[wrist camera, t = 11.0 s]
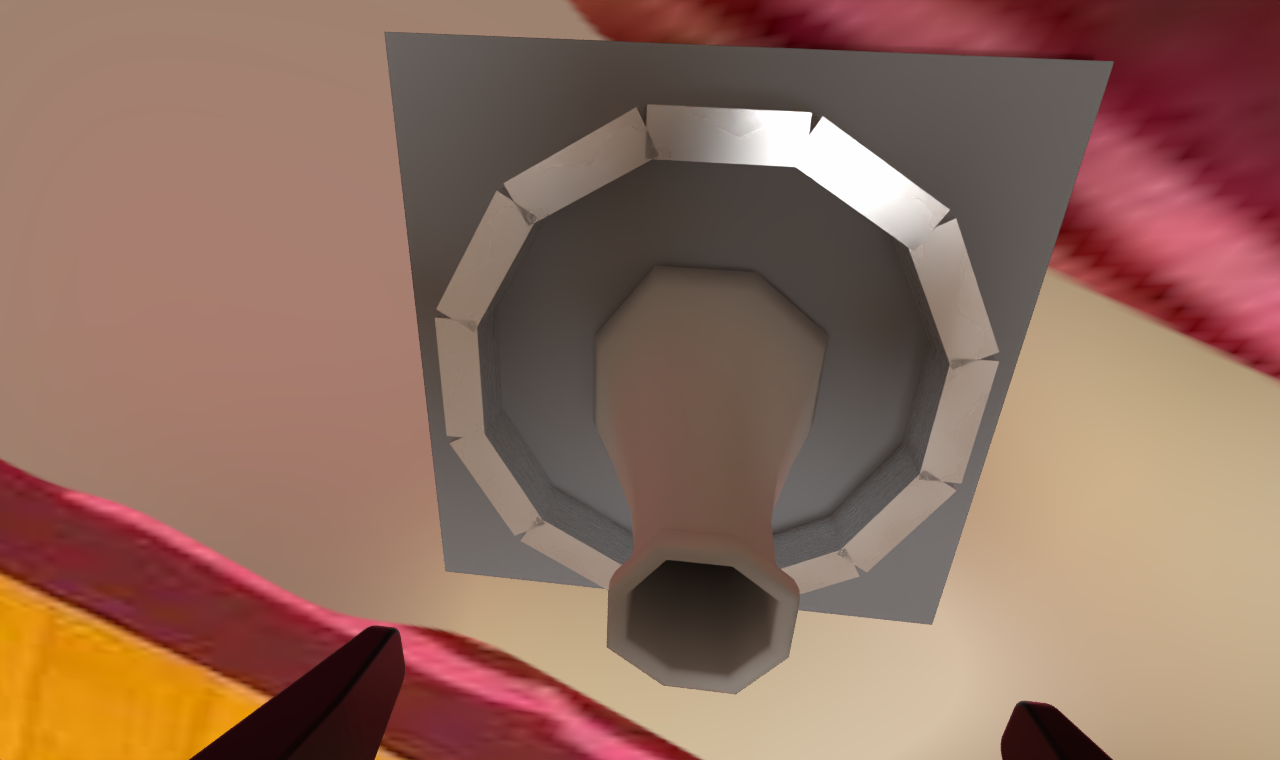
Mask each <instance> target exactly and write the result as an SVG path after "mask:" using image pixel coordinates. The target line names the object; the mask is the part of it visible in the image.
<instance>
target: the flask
mask: <svg viewBox="0 0 1280 760" xmlns="http://www.w3.org/2000/svg"><path fill="white" fill-rule="evenodd" d="M828 339H829V336H828V335H827V334H826V333H825V332H824V331H823V330H821V329H820V328H819V327H818V326H817V325H816V324H815V323H813V322H812V321H811V320H810V319H809V318H808V317H807V316H805V315H804V314H803V313H802V312H801V311H800V310H799V309H798V308H796V307H795V306H794V305H793V304H792V303H791V302H790V301H788V300H787V299H786V298H785V297H784V296H783V295H782V294H780V293H779V292H778V291H777V290H776V289H775V288H774V287H772V286H771V285H770V284H769V283H768V282H767V281H766V280H765V279H763V278H762V277H761V276H760V275H759V274H758V273H756V272H742V271H728V270H713V269H699V268H684V267H670V266H656V265H655V266H654V267H653V268H652V270H651V271H650V272H649V273H648V274H647V275H646V277H645V278H644V279H643V280H642V281H641V282H640V284H639V285H638V286H637V287H636V288H635V289H634V291H633V292H632V293H631V294H630V295H629V296H628V298H627V299H626V300H625V301H624V302H623V303H622V305H621V306H620V307H619V308H618V309H617V310H616V312H615V313H614V314H613V315H612V316H611V317H610V319H609V320H608V321H607V322H606V323H605V324H604V325H603V327H602V328H601V329H600V330H599V331H598V332H597V334H596V335H595V336H594V392H593V421H594V423H595V426H596V429H597V431H598V433H599V435H600V438H601V440H602V442H603V444H604V446H605V448H606V450H607V452H608V454H609V456H610V458H611V461H612V463H613V465H614V468H615V471H616V473H617V476H618V479H619V481H620V484H621V487H622V489H623V492H624V495H625V497H626V500H627V502H628V505H629V508H630V510H631V517H632V529H633V540H634V546H633V553H632V557H630V558H629V559H628V560H627V561H626V562H625V563H624V564H623V565H622V566H620V567H619V568H618V569H617V570H616V571H615V572H614V574H613V576H612V578H611V579H610V583H609V590H608V624H607V648H609V649H610V650H612V651H613V652H615V653H616V654H618V655H619V656H621V657H622V658H624V659H625V660H627V661H628V662H629V663H631V664H633V665H634V666H636V667H637V668H638V669H640V670H642V671H643V672H644V673H646V674H647V675H649V676H650V677H652V678H653V679H655V680H656V681H658V682H659V683H660V684H662V685H664V686H672V687H680V688H689V689H697V690H705V691H713V692H721V693H730V694H737V693H738V692H740V691H741V690H743V689H744V688H746V687H747V686H748V685H750V684H751V683H753V682H754V681H756V680H757V679H758V678H760V677H761V676H763V675H764V674H766V673H767V672H768V671H770V670H771V669H773V668H774V667H776V666H777V665H778V664H779V663H781V662H783V661H784V660H785V659H787V658H788V657H789V653H790V648H791V643H792V638H793V633H794V628H795V623H796V618H797V613H798V608H799V603H800V592H799V588H798V586H797V584H796V582H795V580H794V579H793V578H792V577H790V576H789V575H788V574H786V573H785V572H784V571H783V570H781V569H780V568H779V567H777V564H776V561H775V553H774V544H773V535H772V526H771V521H772V513H773V509H774V507H775V505H776V502H777V500H778V498H779V495H780V493H781V490H782V488H783V486H784V483H785V481H786V478H787V476H788V474H789V471H790V469H791V467H792V465H793V463H794V461H795V459H796V457H797V455H798V453H799V451H800V449H801V447H802V446H803V444H804V442H805V440H806V438H807V436H808V434H809V432H810V429H811V427H812V425H813V421H814V416H815V410H816V405H817V399H818V394H819V388H820V383H821V377H822V372H823V367H824V361H825V356H826V350H827V345H828Z"/></svg>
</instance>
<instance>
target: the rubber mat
mask: <svg viewBox="0 0 1280 760" xmlns="http://www.w3.org/2000/svg"><path fill="white" fill-rule="evenodd" d="M385 41H386V50H387V59H388V67H389V76H390V85H391V94H392V103H393V111H394V120H395V129H396V138H397V146H398V155H399V164H400V173H401V181H402V190H403V200H404V209H405V217H406V226H407V235H408V244H409V252H410V261H411V270H412V279H413V288H414V297H415V306H416V314H417V323H418V332H419V341H420V350H421V359H422V367H423V376H424V385H425V394H426V403H427V412H428V420H429V429H430V438H431V447H432V455H433V464H434V472H435V481H436V490H437V499H438V508H439V517H440V526H441V535H442V543H443V553H444V562H445V570H446V571H448V572H456V573H466V574H475V575H484V576H493V577H502V578H511V579H521V580H530V581H538V582H547V583H556V584H566V585H575V586H584V587H593V588H602V589H605V588H603V587H601V586H600V585H598V584H596V583H594V582H592V581H591V580H589V579H587V578H585V577H584V576H582V575H580V574H578V573H576V572H575V571H573V570H571V569H569V568H568V567H566V566H564V565H562V564H561V563H559V562H557V561H555V560H553V559H552V558H550V557H548V556H546V555H545V554H543V553H541V552H539V551H537V550H536V549H534V548H532V547H530V546H529V545H527V544H525V543H523V542H521V541H520V540H521V538H522V536H523V533H524V532H523V533H520V534H518V535H515V536H514V534H513V533H512V531H511V530H510V529H509V527H508V526H507V524H506V523H505V521H504V520H503V519H502V517H501V516H500V514H499V513H498V512H497V510H496V509H495V507H494V506H493V504H492V503H491V502H490V500H489V499H488V497H487V496H486V494H485V493H484V492H483V490H482V489H481V487H480V486H479V485H478V483H477V482H476V480H475V479H474V477H473V476H472V475H471V473H470V472H469V470H468V469H467V467H466V466H465V465H464V463H463V462H462V460H461V459H460V458H459V456H458V455H457V453H456V452H455V450H454V449H453V448H452V446H451V445H450V442H451V441H452V439H453V438H454V437H453V436H447V435H446V425H445V415H444V405H443V395H442V385H441V375H440V365H439V355H438V345H437V335H436V325H435V317H436V316H437V315H439V314H440V313H441V312H440V311H438V310H437V307H438V305H439V303H440V301H441V299H442V297H443V295H444V293H445V291H446V289H447V287H448V285H449V283H450V281H451V279H452V277H453V275H454V273H455V271H456V269H457V267H458V265H459V263H460V261H461V259H462V258H463V256H464V254H465V252H466V250H467V248H468V246H469V244H470V242H471V240H472V238H473V236H474V234H475V232H476V230H477V228H478V226H479V224H480V222H481V220H482V218H483V216H484V214H485V212H486V210H487V208H488V206H489V204H490V202H491V201H492V199H493V197H494V195H495V193H496V191H497V190H499V189H501V188H504V187H505V185H504V183H505V182H507V181H508V180H510V179H512V178H514V177H515V176H517V175H519V174H521V173H522V172H524V171H526V170H527V169H529V168H531V167H533V166H534V165H536V164H538V163H540V162H541V161H543V160H545V159H547V158H548V157H550V156H552V155H554V154H555V153H557V152H559V151H561V150H562V149H564V148H566V147H568V146H569V145H571V144H573V143H575V142H576V141H578V140H580V139H582V138H583V137H585V136H587V135H589V134H590V133H592V132H594V131H596V130H597V129H599V128H601V127H603V126H604V125H606V124H608V123H610V122H611V121H613V120H615V119H617V118H618V117H620V116H622V115H624V114H625V113H627V112H629V111H631V110H632V109H634V108H636V107H643V106H644V108H645V110H646V112H647V105H648V104H665V105H686V106H706V107H727V108H748V109H768V110H789V111H805V112H812V115H818V116H823V117H824V118H826V119H827V120H829V121H830V122H831V123H833V124H834V125H835V126H837V127H838V128H839V129H841V130H842V131H843V132H845V133H846V134H848V135H849V136H850V137H852V138H853V139H854V140H856V141H857V142H858V143H860V144H861V145H863V146H864V147H865V148H867V149H868V150H869V151H871V152H872V153H873V154H875V155H876V156H878V157H879V158H880V159H882V160H883V161H884V162H886V163H887V164H888V165H890V166H891V167H892V168H894V169H895V170H897V171H898V172H899V173H901V174H902V175H903V176H905V177H906V178H907V179H909V180H910V181H912V182H913V183H914V184H916V185H917V186H918V187H920V188H921V189H922V190H924V191H925V192H926V193H928V194H929V195H931V196H932V197H933V198H935V199H936V200H937V201H939V202H940V203H941V204H943V205H944V206H946V207H947V208H948V209H950V211H949V212H948V213H947V214H948V215H950V216H953V217H955V218H956V219H957V222H958V226H959V229H960V232H961V235H962V238H963V241H964V244H965V247H966V250H967V253H968V256H969V260H970V263H971V266H972V269H973V272H974V275H975V278H976V281H977V284H978V287H979V291H980V294H981V297H982V300H983V303H984V306H985V309H986V312H987V315H988V318H989V321H990V325H991V328H992V331H993V334H994V337H995V340H996V343H997V346H998V349H999V352H998V353H996V354H993V356H994V357H995V358H996V359H997V360H998V361H999V364H998V367H997V370H996V374H995V377H994V380H993V383H992V386H991V390H990V393H989V396H988V399H987V403H986V406H985V409H984V412H983V415H982V419H981V422H980V425H979V428H978V432H977V435H976V438H975V441H974V445H973V448H972V451H971V454H970V457H969V461H968V464H967V467H966V470H965V474H964V477H963V480H962V483H952V484H953V486H954V487H955V489H956V490H957V491H956V492H955V493H954V494H952V495H951V496H950V497H949V498H948V499H947V500H946V501H945V502H944V503H943V504H941V505H940V506H939V507H938V508H937V509H936V510H935V511H934V512H933V513H932V514H930V515H929V516H928V517H927V518H926V519H925V520H924V521H923V522H922V523H921V524H920V525H918V526H917V527H916V528H915V529H914V530H913V531H912V532H911V533H910V534H909V535H907V536H906V537H905V538H904V539H903V540H902V541H901V542H900V543H899V544H898V545H896V546H895V547H894V548H893V549H892V550H891V551H890V552H889V553H888V554H887V555H885V556H884V557H883V558H882V559H881V560H880V561H879V562H878V563H877V564H876V565H874V566H873V567H872V568H871V569H870V570H869V571H868V572H865V571H864V570H862V569H860V568H859V567H857V570H858V573H859V577H856V578H853V579H849V580H846V581H843V582H839V583H836V584H833V585H830V586H826V587H823V588H820V589H816V590H813V591H810V592H806V593H803V594H800V603H799V608H798V610H803V611H812V612H820V613H830V614H839V615H848V616H858V617H867V618H876V619H884V620H893V621H902V622H903V621H904V622H911V623H921V624H930V625H932V623H933V620H934V617H935V614H936V611H937V608H938V605H939V601H940V598H941V595H942V592H943V589H944V586H945V583H946V580H947V577H948V574H949V571H950V567H951V564H952V561H953V558H954V555H955V552H956V549H957V546H958V543H959V540H960V537H961V533H962V530H963V527H964V524H965V521H966V518H967V515H968V512H969V509H970V505H971V503H972V499H973V496H974V493H975V490H976V487H977V484H978V481H979V478H980V475H981V472H982V468H983V465H984V462H985V459H986V456H987V453H988V450H989V447H990V444H991V440H992V437H993V434H994V431H995V428H996V425H997V422H998V419H999V416H1000V413H1001V410H1002V407H1003V404H1004V400H1005V397H1006V394H1007V391H1008V388H1009V385H1010V382H1011V379H1012V376H1013V373H1014V369H1015V366H1016V363H1017V360H1018V357H1019V354H1020V350H1021V348H1022V345H1023V342H1024V339H1025V335H1026V332H1027V329H1028V326H1029V323H1030V320H1031V317H1032V314H1033V311H1034V308H1035V305H1036V301H1037V298H1038V295H1039V292H1040V289H1041V286H1042V283H1043V280H1044V277H1045V274H1046V271H1047V267H1048V264H1049V261H1050V258H1051V255H1052V252H1053V249H1054V246H1055V243H1056V240H1057V237H1058V233H1059V230H1060V227H1061V224H1062V221H1063V218H1064V215H1065V212H1066V209H1067V206H1068V202H1069V199H1070V196H1071V193H1072V190H1073V187H1074V184H1075V181H1076V178H1077V175H1078V172H1079V168H1080V165H1081V162H1082V159H1083V156H1084V153H1085V150H1086V147H1087V144H1088V141H1089V138H1090V134H1091V131H1092V128H1093V125H1094V122H1095V119H1096V116H1097V113H1098V110H1099V107H1100V104H1101V100H1102V97H1103V94H1104V91H1105V88H1106V85H1107V82H1108V79H1109V76H1110V73H1111V69H1112V66H1113V63H1114V62H1113V61H1089V60H1064V59H1039V58H1015V57H990V56H966V55H941V54H917V53H892V52H868V51H843V50H819V49H794V48H769V47H745V46H720V45H696V44H671V43H647V42H622V41H598V40H572V39H548V38H523V37H498V36H475V35H472V36H471V35H450V34H426V33H425V34H424V33H399V32H385ZM655 265H656V266H670V267H684V268H699V269H713V270H728V271H742V272H756V273H758V274H759V275H760V276H761V277H762V278H763V279H765V280H766V281H767V282H768V283H769V284H770V285H771V286H772V287H774V288H775V289H776V290H777V291H778V292H779V293H780V294H782V295H783V296H784V297H785V298H786V299H787V300H788V301H790V302H791V303H792V304H793V305H794V306H795V307H796V308H798V309H799V310H800V311H801V312H802V313H803V314H804V315H805V316H807V317H808V318H809V319H810V320H811V321H812V322H813V323H815V324H816V325H817V326H818V327H819V328H820V329H821V330H823V331H824V332H825V333H826V334H827V335H828V336H829V339H828V345H827V350H826V356H825V361H824V367H823V372H822V377H821V383H820V388H819V394H818V399H817V405H816V410H815V416H814V421H813V425H812V427H811V429H810V432H809V434H808V436H807V438H806V440H805V442H804V444H803V446H802V447H801V449H800V451H799V453H798V455H797V457H796V459H795V461H794V463H793V465H792V467H791V469H790V471H789V474H788V476H787V478H786V481H785V483H784V486H783V488H782V490H781V493H780V495H779V498H778V500H777V502H776V505H775V507H774V509H773V513H772V521H771V526H772V534H773V533H776V532H779V531H782V530H785V529H788V528H791V527H794V526H797V525H800V524H803V523H806V522H809V521H812V520H815V519H818V518H821V517H824V516H827V515H830V514H831V513H832V512H833V511H834V510H835V509H836V508H837V507H838V506H839V505H840V504H841V503H842V502H843V501H844V500H845V499H846V498H847V497H848V496H849V495H850V494H851V493H852V492H853V491H854V490H855V489H856V488H857V487H858V486H859V485H860V484H861V483H862V482H863V481H864V480H865V479H866V478H867V477H868V476H869V475H870V474H871V473H872V472H873V471H874V470H875V469H876V468H877V467H878V466H879V465H880V464H881V463H882V462H883V461H884V460H885V459H886V458H887V457H888V456H889V455H890V454H891V453H892V452H893V451H894V450H895V449H896V448H897V447H898V446H899V445H900V444H901V443H902V442H903V438H904V434H905V430H906V426H907V422H908V418H909V414H910V410H911V406H912V402H913V398H914V394H915V390H916V386H917V383H918V379H919V375H920V371H921V367H922V363H923V359H924V355H925V351H926V347H927V343H928V338H927V335H926V332H925V330H924V327H923V324H922V321H921V319H920V316H919V313H918V310H917V308H916V305H915V302H914V299H913V297H912V294H911V291H910V288H909V286H908V283H907V280H906V277H905V275H904V272H903V269H902V266H901V264H900V261H899V258H898V255H897V253H896V250H895V247H894V244H893V242H892V239H891V236H890V234H889V233H888V232H886V231H885V230H883V229H882V228H881V227H879V226H878V225H876V224H875V223H874V222H872V221H871V220H869V219H868V218H867V217H865V216H864V215H862V214H861V213H860V212H858V211H857V210H855V209H854V208H853V207H851V206H850V205H848V204H847V203H846V202H844V201H843V200H841V199H840V198H839V197H837V196H836V195H834V194H833V193H832V192H830V191H829V190H827V189H826V188H825V187H823V186H822V185H820V184H819V183H818V182H816V181H815V180H813V179H812V178H811V177H809V176H808V175H806V174H805V173H804V172H802V171H801V170H799V169H798V168H797V167H785V166H767V165H748V164H730V163H712V162H694V161H676V160H658V159H652V160H650V161H648V162H646V163H645V164H643V165H641V166H639V167H637V168H635V169H633V170H632V171H630V172H628V173H626V174H624V175H622V176H621V177H619V178H617V179H615V180H613V181H611V182H609V183H608V184H606V185H604V186H602V187H600V188H598V189H597V190H595V191H593V192H591V193H589V194H587V195H585V196H584V197H582V198H580V199H578V200H576V201H574V202H573V203H571V204H569V205H567V206H565V207H563V208H561V209H560V210H558V211H556V212H554V213H552V214H550V215H549V216H548V217H547V219H546V221H545V223H544V224H543V226H542V228H541V230H540V232H539V233H538V235H537V237H536V239H535V241H534V242H533V244H532V246H531V248H530V249H529V251H528V253H527V255H526V257H525V258H524V260H523V262H522V264H521V266H520V267H519V269H518V271H517V273H516V275H515V276H514V278H513V280H512V282H511V284H510V285H509V287H508V289H507V291H506V293H505V294H504V296H503V298H502V300H501V301H500V303H499V305H498V307H497V314H498V332H499V350H500V368H501V386H502V403H503V408H504V410H505V412H506V413H507V415H508V416H509V418H510V419H511V421H512V422H513V424H514V425H515V427H516V428H517V430H518V431H519V433H520V434H521V436H522V438H523V439H524V441H525V442H526V444H527V445H528V447H529V448H530V450H531V451H532V453H533V454H534V456H535V457H536V459H537V460H538V462H539V464H540V465H541V467H542V468H543V470H544V471H545V473H546V474H547V476H548V477H549V479H550V480H551V482H552V483H553V485H554V487H555V488H557V489H558V490H560V491H562V492H564V493H565V494H567V495H569V496H570V497H572V498H574V499H576V500H577V501H579V502H581V503H582V504H584V505H586V506H588V507H589V508H591V509H593V510H594V511H596V512H598V513H600V514H601V515H603V516H605V517H606V518H608V519H610V520H612V521H613V522H615V523H617V524H618V525H620V526H622V527H624V528H625V529H627V530H629V531H630V532H632V533H633V529H632V517H631V510H630V508H629V505H628V502H627V500H626V497H625V495H624V492H623V489H622V487H621V484H620V481H619V479H618V476H617V473H616V471H615V468H614V465H613V463H612V461H611V458H610V456H609V454H608V452H607V450H606V448H605V446H604V444H603V442H602V440H601V438H600V435H599V433H598V431H597V429H596V426H595V423H594V421H593V392H594V336H595V335H596V334H597V332H598V331H599V330H600V329H601V328H602V327H603V325H604V324H605V323H606V322H607V321H608V320H609V319H610V317H611V316H612V315H613V314H614V313H615V312H616V310H617V309H618V308H619V307H620V306H621V305H622V303H623V302H624V301H625V300H626V299H627V298H628V296H629V295H630V294H631V293H632V292H633V291H634V289H635V288H636V287H637V286H638V285H639V284H640V282H641V281H642V280H643V279H644V278H645V277H646V275H647V274H648V273H649V272H650V271H651V270H652V268H653V267H654V266H655Z"/></svg>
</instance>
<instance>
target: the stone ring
mask: <svg viewBox="0 0 1280 760" xmlns="http://www.w3.org/2000/svg"><path fill="white" fill-rule="evenodd" d="M652 159H658V160H676V161H694V162H712V163H730V164H748V165H767V166H785V167H797V168H798V169H799V170H801V171H802V172H804V173H805V174H806V175H808V176H809V177H811V178H812V179H813V180H815V181H816V182H818V183H819V184H820V185H822V186H823V187H825V188H826V189H827V190H829V191H830V192H832V193H833V194H834V195H836V196H837V197H839V198H840V199H841V200H843V201H844V202H846V203H847V204H848V205H850V206H851V207H853V208H854V209H855V210H857V211H858V212H860V213H861V214H862V215H864V216H865V217H867V218H868V219H869V220H871V221H872V222H874V223H875V224H876V225H878V226H879V227H881V228H882V229H883V230H885V231H886V232H888V233H889V234H890V236H891V239H892V242H893V244H894V247H895V250H896V253H897V255H898V258H899V261H900V264H901V266H902V269H903V272H904V275H905V277H906V280H907V283H908V286H909V288H910V291H911V294H912V297H913V299H914V302H915V305H916V308H917V310H918V313H919V316H920V319H921V321H922V324H923V327H924V330H925V332H926V335H927V338H928V343H927V347H926V351H925V355H924V359H923V363H922V367H921V371H920V375H919V379H918V383H917V386H916V390H915V394H914V398H913V402H912V406H911V410H910V414H909V418H908V422H907V426H906V430H905V434H904V438H903V442H902V443H901V444H900V445H899V446H898V447H897V448H896V449H895V450H894V451H893V452H892V453H891V454H890V455H889V456H888V457H887V458H886V459H885V460H884V461H883V462H882V463H881V464H880V465H879V466H878V467H877V468H876V469H875V470H874V471H873V472H872V473H871V474H870V475H869V476H868V477H867V478H866V479H865V480H864V481H863V482H862V483H861V484H860V485H859V486H858V487H857V488H856V489H855V490H854V491H853V492H852V493H851V494H850V495H849V496H848V497H847V498H846V499H845V500H844V501H843V502H842V503H841V504H840V505H839V506H838V507H837V508H836V509H835V510H834V511H833V512H832V513H831V514H830V515H827V516H824V517H821V518H818V519H815V520H812V521H809V522H806V523H803V524H800V525H797V526H794V527H791V528H788V529H785V530H782V531H779V532H776V533H773V534H772V535H773V544H774V553H775V561H776V564H777V567H779V568H780V569H781V570H783V571H784V572H785V573H786V574H788V575H789V576H790V577H792V578H793V579H794V580H795V582H796V584H797V586H798V588H799V592H800V594H803V593H806V592H810V591H813V590H816V589H820V588H823V587H826V586H830V585H833V584H836V583H839V582H843V581H846V580H849V579H853V578H856V577H859V573H858V570H857V567H859V568H860V569H862V570H864V571H865V572H868V571H869V570H870V569H871V568H872V567H873V566H874V565H876V564H877V563H878V562H879V561H880V560H881V559H882V558H883V557H884V556H885V555H887V554H888V553H889V552H890V551H891V550H892V549H893V548H894V547H895V546H896V545H898V544H899V543H900V542H901V541H902V540H903V539H904V538H905V537H906V536H907V535H909V534H910V533H911V532H912V531H913V530H914V529H915V528H916V527H917V526H918V525H920V524H921V523H922V522H923V521H924V520H925V519H926V518H927V517H928V516H929V515H930V514H932V513H933V512H934V511H935V510H936V509H937V508H938V507H939V506H940V505H941V504H943V503H944V502H945V501H946V500H947V499H948V498H949V497H950V496H951V495H952V494H954V493H955V492H956V491H957V490H956V489H955V487H954V486H953V484H952V483H962V480H963V477H964V474H965V470H966V467H967V464H968V461H969V457H970V454H971V451H972V448H973V445H974V441H975V438H976V435H977V432H978V428H979V425H980V422H981V419H982V415H983V412H984V409H985V406H986V403H987V399H988V396H989V393H990V390H991V386H992V383H993V380H994V377H995V374H996V370H997V367H998V364H999V361H998V360H997V359H996V358H995V357H994V356H993V354H996V353H998V352H999V349H998V346H997V343H996V340H995V337H994V334H993V331H992V328H991V325H990V321H989V318H988V315H987V312H986V309H985V306H984V303H983V300H982V297H981V294H980V291H979V287H978V284H977V281H976V278H975V275H974V272H973V269H972V266H971V263H970V260H969V256H968V253H967V250H966V247H965V244H964V241H963V238H962V235H961V232H960V229H959V226H958V222H957V219H956V218H955V217H953V216H950V215H948V214H947V213H948V212H949V211H950V209H948V208H947V207H946V206H944V205H943V204H941V203H940V202H939V201H937V200H936V199H935V198H933V197H932V196H931V195H929V194H928V193H926V192H925V191H924V190H922V189H921V188H920V187H918V186H917V185H916V184H914V183H913V182H912V181H910V180H909V179H907V178H906V177H905V176H903V175H902V174H901V173H899V172H898V171H897V170H895V169H894V168H892V167H891V166H890V165H888V164H887V163H886V162H884V161H883V160H882V159H880V158H879V157H878V156H876V155H875V154H873V153H872V152H871V151H869V150H868V149H867V148H865V147H864V146H863V145H861V144H860V143H858V142H857V141H856V140H854V139H853V138H852V137H850V136H849V135H848V134H846V133H845V132H843V131H842V130H841V129H839V128H838V127H837V126H835V125H834V124H833V123H831V122H830V121H829V120H827V119H826V118H824V117H823V116H818V115H812V112H805V111H789V110H768V109H748V108H727V107H706V106H686V105H665V104H648V105H647V112H646V110H645V108H644V106H643V107H636V108H634V109H632V110H631V111H629V112H627V113H625V114H624V115H622V116H620V117H618V118H617V119H615V120H613V121H611V122H610V123H608V124H606V125H604V126H603V127H601V128H599V129H597V130H596V131H594V132H592V133H590V134H589V135H587V136H585V137H583V138H582V139H580V140H578V141H576V142H575V143H573V144H571V145H569V146H568V147H566V148H564V149H562V150H561V151H559V152H557V153H555V154H554V155H552V156H550V157H548V158H547V159H545V160H543V161H541V162H540V163H538V164H536V165H534V166H533V167H531V168H529V169H527V170H526V171H524V172H522V173H521V174H519V175H517V176H515V177H514V178H512V179H510V180H508V181H507V182H505V183H504V185H505V187H504V188H501V189H499V190H497V191H496V193H495V195H494V197H493V199H492V201H491V202H490V204H489V206H488V208H487V210H486V212H485V214H484V216H483V218H482V220H481V222H480V224H479V226H478V228H477V230H476V232H475V234H474V236H473V238H472V240H471V242H470V244H469V246H468V248H467V250H466V252H465V254H464V256H463V258H462V259H461V261H460V263H459V265H458V267H457V269H456V271H455V273H454V275H453V277H452V279H451V281H450V283H449V285H448V287H447V289H446V291H445V293H444V295H443V297H442V299H441V301H440V303H439V305H438V307H437V310H438V311H440V312H441V313H440V314H439V315H437V316H436V317H435V325H436V335H437V345H438V355H439V365H440V375H441V385H442V395H443V405H444V415H445V425H446V435H447V436H453V437H454V438H453V439H452V441H451V442H450V445H451V446H452V448H453V449H454V450H455V452H456V453H457V455H458V456H459V458H460V459H461V460H462V462H463V463H464V465H465V466H466V467H467V469H468V470H469V472H470V473H471V475H472V476H473V477H474V479H475V480H476V482H477V483H478V485H479V486H480V487H481V489H482V490H483V492H484V493H485V494H486V496H487V497H488V499H489V500H490V502H491V503H492V504H493V506H494V507H495V509H496V510H497V512H498V513H499V514H500V516H501V517H502V519H503V520H504V521H505V523H506V524H507V526H508V527H509V529H510V530H511V531H512V533H513V534H514V536H515V535H518V534H520V533H523V532H524V533H523V536H522V538H521V540H520V541H521V542H523V543H525V544H527V545H529V546H530V547H532V548H534V549H536V550H537V551H539V552H541V553H543V554H545V555H546V556H548V557H550V558H552V559H553V560H555V561H557V562H559V563H561V564H562V565H564V566H566V567H568V568H569V569H571V570H573V571H575V572H576V573H578V574H580V575H582V576H584V577H585V578H587V579H589V580H591V581H592V582H594V583H596V584H598V585H600V586H601V587H603V588H605V589H607V590H609V583H610V579H611V578H612V576H613V574H614V572H615V571H616V570H617V569H618V568H619V567H620V566H622V565H623V564H624V563H625V562H626V561H627V560H628V559H629V558H630V557H632V553H633V546H634V540H633V533H632V532H630V531H629V530H627V529H625V528H624V527H622V526H620V525H618V524H617V523H615V522H613V521H612V520H610V519H608V518H606V517H605V516H603V515H601V514H600V513H598V512H596V511H594V510H593V509H591V508H589V507H588V506H586V505H584V504H582V503H581V502H579V501H577V500H576V499H574V498H572V497H570V496H569V495H567V494H565V493H564V492H562V491H560V490H558V489H557V488H555V487H554V485H553V483H552V482H551V480H550V479H549V477H548V476H547V474H546V473H545V471H544V470H543V468H542V467H541V465H540V464H539V462H538V460H537V459H536V457H535V456H534V454H533V453H532V451H531V450H530V448H529V447H528V445H527V444H526V442H525V441H524V439H523V438H522V436H521V434H520V433H519V431H518V430H517V428H516V427H515V425H514V424H513V422H512V421H511V419H510V418H509V416H508V415H507V413H506V412H505V410H504V408H503V403H502V386H501V368H500V350H499V332H498V314H497V307H498V305H499V303H500V301H501V300H502V298H503V296H504V294H505V293H506V291H507V289H508V287H509V285H510V284H511V282H512V280H513V278H514V276H515V275H516V273H517V271H518V269H519V267H520V266H521V264H522V262H523V260H524V258H525V257H526V255H527V253H528V251H529V249H530V248H531V246H532V244H533V242H534V241H535V239H536V237H537V235H538V233H539V232H540V230H541V228H542V226H543V224H544V223H545V221H546V219H547V217H548V216H549V215H550V214H552V213H554V212H556V211H558V210H560V209H561V208H563V207H565V206H567V205H569V204H571V203H573V202H574V201H576V200H578V199H580V198H582V197H584V196H585V195H587V194H589V193H591V192H593V191H595V190H597V189H598V188H600V187H602V186H604V185H606V184H608V183H609V182H611V181H613V180H615V179H617V178H619V177H621V176H622V175H624V174H626V173H628V172H630V171H632V170H633V169H635V168H637V167H639V166H641V165H643V164H645V163H646V162H648V161H650V160H652Z"/></svg>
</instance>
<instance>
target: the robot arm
mask: <svg viewBox="0 0 1280 760" xmlns="http://www.w3.org/2000/svg"><path fill="white" fill-rule="evenodd" d="M404 676H405V661H404V655H403V649H402V642H401V636H400V633H399V631H398V630H397V629H396V628H394V627H385V626H370V627H368V628H366V629H365V630H363V631H362V632H361V633H359V634H358V635H357V636H355V637H354V638H353V639H351V640H350V641H349V642H347V643H346V644H344V645H343V646H342V647H340V648H339V649H338V650H336V651H335V652H334V653H332V654H331V655H330V656H328V657H327V658H326V659H324V660H323V661H322V662H320V663H319V664H318V665H316V666H315V667H313V668H312V669H311V670H309V671H308V672H307V673H305V674H304V675H303V676H301V677H300V678H299V679H297V680H296V681H295V682H293V683H292V684H291V685H289V686H288V687H286V688H285V689H284V690H282V691H281V692H280V693H278V694H277V695H276V696H274V697H273V698H272V699H270V700H269V701H268V702H266V703H265V704H264V705H262V706H261V707H260V708H258V709H257V710H255V711H254V712H253V713H251V714H250V715H249V716H247V717H246V718H245V719H243V720H242V721H241V722H239V723H238V724H237V725H235V726H234V727H233V728H231V729H230V730H229V731H227V732H226V733H224V734H223V735H222V736H220V737H219V738H218V739H216V740H215V741H214V742H212V743H211V744H210V745H208V746H207V747H206V748H204V749H203V750H202V751H200V752H199V753H197V754H196V755H195V756H193V757H192V758H191V759H189V760H374V759H375V757H376V754H377V751H378V749H379V746H380V743H381V740H382V738H383V735H384V732H385V730H386V727H387V724H388V721H389V719H390V716H391V713H392V711H393V708H394V705H395V702H396V700H397V697H398V694H399V692H400V689H401V686H402V683H403V680H404ZM1001 754H1002V759H1003V760H1113V759H1112V758H1110V757H1109V756H1108V755H1107V754H1106V753H1105V752H1104V751H1103V750H1102V749H1101V748H1100V747H1098V746H1097V745H1096V744H1095V743H1094V742H1093V741H1092V740H1091V739H1090V738H1089V737H1087V736H1086V735H1085V734H1084V733H1083V732H1082V731H1081V730H1080V729H1079V728H1078V727H1077V726H1075V725H1074V724H1073V723H1072V722H1071V721H1070V720H1069V719H1068V718H1067V717H1066V716H1065V715H1063V714H1062V713H1061V712H1060V711H1059V710H1058V709H1057V708H1055V707H1054V706H1052V705H1050V704H1046V703H1039V702H1031V701H1020V702H1019V703H1017V704H1016V706H1015V708H1014V710H1013V712H1012V715H1011V717H1010V720H1009V722H1008V724H1007V726H1006V729H1005V731H1004V734H1003V736H1002V739H1001Z"/></svg>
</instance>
